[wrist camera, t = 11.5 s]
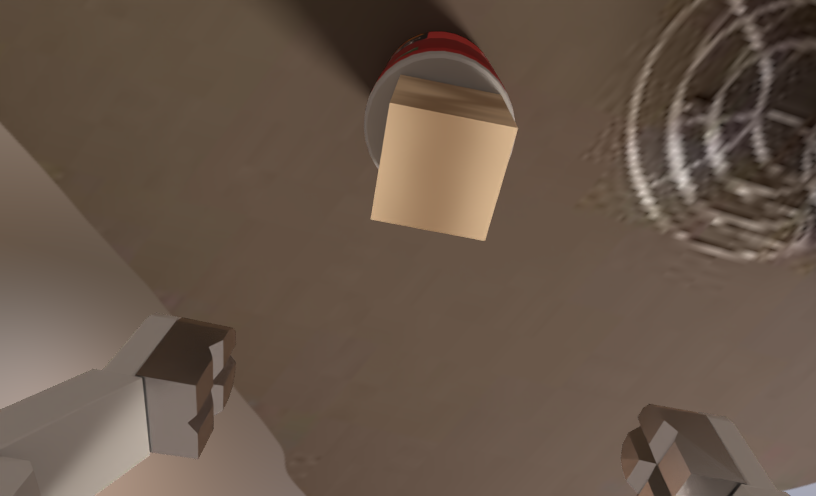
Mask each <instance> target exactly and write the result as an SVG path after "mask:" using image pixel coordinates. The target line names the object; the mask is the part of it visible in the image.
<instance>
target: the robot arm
mask: <svg viewBox="0 0 816 496" xmlns="http://www.w3.org/2000/svg"><path fill="white" fill-rule="evenodd" d="M235 345H236V331H235V329H234V328H232V327H227V326H222V325H217V324H212V323H207V322H203V321H198V320H193V319H188V318H183V317H182V318H180V317H176V316H171V315H166V314H161V313H154V314H152V315H150V316H148V317H147V318H146V320H145V321H144V322H143V323H142V324H141V325H140V327H139V328H138V329H137V330H136V331H135V332H134V333H133V335H132V336H131V337H130V338H129V339H128V340H127V342H126V343H125V344H124V345H123V346H122V347H121V349H120V350H119V351H118V352H117V353H116V355H115V356H114V357H113V358H112V359H111V360H110V361H109V362H108V364H107V365H106V366H105V367H104V368H103V369H102V370H96V369H92V370H90V371H88V372H85V373H83V374H81V375H78V376H76V377H74V378H71V379H69V380H67V381H65V382H62V383H60V384H58V385H55V386H53V387H51V388H49V389H47V390H44V391H42V392H40V393H37V394H35V395H33V396H30V397H28V398H26V399H23V400H21V401H19V402H16V403H14V404H12V405H10V406H7V407H5V408H3V409H0V496H95V495H96V494H98V493H99V492H100V491H102V490H103V489H105V488H106V487H107V486H109V485H110V484H111V483H113V482H114V481H116V480H117V479H118V478H120V477H121V476H122V475H124V474H125V473H126V472H128V471H129V470H130V469H132V468H133V467H135V466H136V465H137V464H138V463H140V462H141V461H143V460H144V459H145V458H147V457H148V456H149V455H150V452H152V453H159V454H166V455H174V456H180V457H187V458H194V459H198V458H199V457H200V455H201V453H202V451H203V449H204V447H205V445H206V443H207V441H208V439H209V437H210V435H211V433H212V431H213V429H214V427H213V426H214V415H216V414H218V413H219V412H221V411H223V409H224V407H225V405H226V403H227V401H228V399H229V396H230V393H231V390H232V387H233V383H234V377H235V370H236V362H235V360H234V359H233V358H232V356H231V353H232V351H233V349H234V347H235ZM638 420H639V423H640V427H638V428H636V429H634V430H632V431H631V432H629V433H628V434H627V436H626V438H625V440H624V442H623V444H622V450H621V466H622V471H623V474H624V477H625V480H626V482H627V483H628V484H629V485H630V486H631V487H632V488H633V489H634V490H635V491H636V492H637V493H638V494H637V496H790V495H789V494H787V493H786V492H782V491H778V490H777V489H776V487H775V486H774V484H773V483H772V481H771V480H770V478H769V477H768V475H767V474H766V472H765V471H764V469H763V468H762V466H761V464H760V463H759V461H758V460H757V458H756V457H755V455H754V454H753V452H752V451H751V449H750V448H749V446H748V445H747V443H746V441H745V440H744V438H743V437H742V435H741V434H740V432H739V431H738V429H737V428H736V426H735V425H734V423H733V422H732V421H731V420H729V419H728V418H727V417H725V416H720V415H714V414H708V413H702V412H699V413H697V412H693V411H688V410H682V409H676V408H670V407H665V406H659V405H653V404H648V405H647V406H645V407H644V408H643V409H642V410H641V412H640V414H639V415H638Z"/></svg>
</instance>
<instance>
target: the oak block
mask: <svg viewBox="0 0 816 496" xmlns="http://www.w3.org/2000/svg"><path fill="white" fill-rule="evenodd" d="M517 130H518V127H517V125H516V123H515V121H514V119H513V117H512V115H511V113H510V111H509V109H508V107H507V105H506V103H505V101H504V99H503V97H502V95H500V94H495V93H490V92H485V91H480V90H475V89H470V88H465V87H460V86H455V85H450V84H445V83H440V82H436V81H431V80H426V79H421V78H416V77H411V76H406V75H401V74H400V77H399V79H398V82H397V85H396V87H395V90H394V93H393V95H392V98H391V100H390V104H389V110H388V116H387V122H386V128H385V134H384V141H383V147H382V153H381V159H380V165H379V171H378V178H377V184H376V190H375V196H374V202H373V208H372V214H371V219H372V220H377V221H382V222H387V223H393V224H398V225H403V226H409V227H414V228H419V229H424V230H430V231H435V232H440V233H446V234H451V235H456V236H462V237H467V238H472V239H477V240H483V241H485V239H486V235H487V232H488V229H489V225H490V222H491V218H492V215H493V212H494V208H495V205H496V201H497V198H498V195H499V191H500V188H501V184H502V181H503V178H504V174H505V171H506V167H507V164H508V161H509V157H510V154H511V150H512V147H513V144H514V140H515V137H516V134H517Z"/></svg>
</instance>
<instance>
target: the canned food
mask: <svg viewBox="0 0 816 496" xmlns="http://www.w3.org/2000/svg"><path fill="white" fill-rule="evenodd" d="M400 74H401V75H406V76H411V77H416V78H421V79H426V80H431V81H436V82H440V83H445V84H450V85H455V86H460V87H465V88H470V89H475V90H480V91H485V92H490V93H495V94H500V95H502V97H503V99H504V101H505V103H506V105H507V107H508V109H509V111H510V113H511V115H512V117H513V119H514V121H515V118H514V112H513V107H512V104H511V102H510V99H509V97H508V94H507V92H506V90H505V88H504V86H503V84H502V83H501V81H500V79H499V78H498V76H497V74H496V73H495V71H494V69H493V68H492V66H491V64H490V63H489V61H488V59H487V58H486V56H485V55H484V53H483V52H482V51H481V50H480V49H479V48H478V47H477V46H476V45H475V44H473V43H472V42H470V41H469V40H467V39H466V38H464V37H461V36H459V35H457V34H453V33H448V32H428V33H423V34H420V35H417V36H415V37H413V38H411V39H409V40H408V41H406V42H405V43H404V44H402V45H401V46H400V47H399V48H398V49H397V51H396V52H395V53H394V54H393V55H392V57H391V58H390V60H389V62H388V63H387V65H386V67H385V68H384V70H383V72H382V73H381V75H380V76H379V78H378V80H377V82H376V84H375V85H374V87H373V89H372V91H371V93H370V95H369V99H368V102H367V105H366V109H365V119H364V132H365V141H366V144H367V147H368V150H369V153H370V156H371V157H372V159H373V161H374V163H375V165H376V167H377V168H378V169H379V165H380V159H381V153H382V147H383V141H384V134H385V128H386V122H387V116H388V110H389V104H390V100H391V98H392V95H393V93H394V90H395V87H396V85H397V82H398V79H399V77H400ZM514 142H515V140H514ZM513 146H514V144H513ZM512 150H513V147H512ZM512 150H511V154H512ZM511 154H510V156H511ZM509 158H510V157H509Z"/></svg>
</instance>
